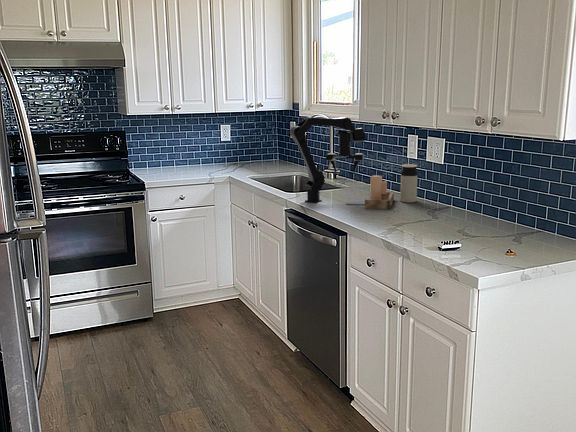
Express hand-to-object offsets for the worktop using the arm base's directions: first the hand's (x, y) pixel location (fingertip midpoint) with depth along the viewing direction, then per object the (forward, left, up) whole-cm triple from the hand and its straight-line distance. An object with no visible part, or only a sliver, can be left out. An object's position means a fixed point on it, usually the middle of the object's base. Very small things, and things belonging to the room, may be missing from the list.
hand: (345, 173), depth 288 cm
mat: (-6, -11, -13) cm, 18 cm away
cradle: (-2, -21, -13) cm, 25 cm away
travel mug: (+11, -30, -13) cm, 35 cm away
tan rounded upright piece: (-2, -20, -13) cm, 24 cm away
